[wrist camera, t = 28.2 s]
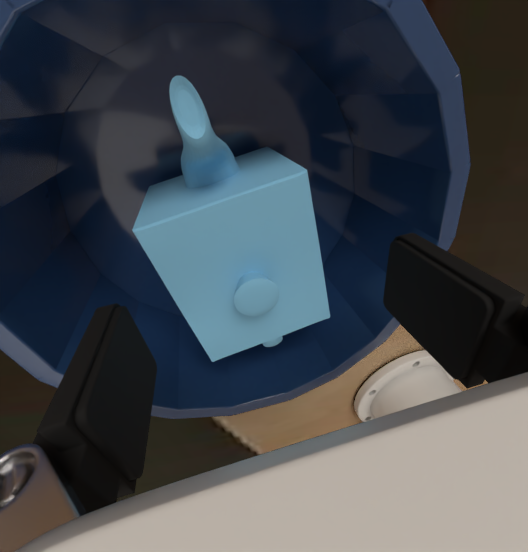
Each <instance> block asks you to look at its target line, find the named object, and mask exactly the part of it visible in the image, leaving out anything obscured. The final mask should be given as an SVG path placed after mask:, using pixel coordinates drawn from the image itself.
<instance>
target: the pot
mask: <svg viewBox="0 0 528 552" xmlns="http://www.w3.org/2000/svg"><path fill="white" fill-rule="evenodd" d="M459 72H460V69H459V67H458V65H457V63H456V62H455V60H454V58H453V56H452V54H451V53H450V51H449V49H448V47H447V45H446V43H445V42H444V40H443V38H442V36H441V34H440V32H439V31H438V29H437V27H436V25H435V23H434V21H433V20H432V18H431V16H430V14H429V12H428V10H427V9H426V7H425V5H424V3H423V1H422V0H0V350H1V351H3V352H4V353H5V354H6V355H8V356H9V357H10V358H11V359H12V360H14V361H15V362H16V363H17V364H19V365H20V366H21V367H22V368H23V369H25V370H26V371H27V372H28V373H30V374H31V375H32V376H33V377H35V378H36V379H38V380H39V381H41V382H44V383H46V384H48V385H51V386H53V387H56V388H58V386H59V384H60V382H61V380H62V378H63V376H64V374H65V372H66V370H67V368H68V366H69V364H70V362H71V360H72V358H73V356H74V354H75V352H76V349H77V347H78V345H79V343H80V341H81V339H82V337H83V335H84V333H85V331H86V329H87V327H88V325H89V323H90V321H91V319H92V317H93V315H94V312H95V310H96V309H97V308H99V307H102V306H107V305H111V304H115V303H117V304H119V305H120V306H125V307H127V309H128V311H129V312H130V314H131V316H132V318H133V320H134V322H135V324H136V325H137V327H138V329H139V331H140V333H141V335H142V337H143V338H144V340H145V342H146V344H147V346H148V348H149V350H150V351H151V353H152V355H153V357H154V359H155V361H156V364H157V374H156V381H155V389H154V396H153V403H152V410H151V416H156V417H162V418H169V419H173V418H174V419H183V418H199V417H216V416H232V415H233V414H234V415H236V414H240V413H244V412H247V411H251V410H255V409H259V408H263V407H266V406H270V405H274V404H278V403H282V402H285V401H288V400H292V399H294V398H296V397H298V396H300V395H302V394H304V393H306V392H308V391H310V390H312V389H314V388H316V387H318V386H321V385H323V384H325V383H327V382H329V381H331V380H333V379H335V378H337V377H338V376H340V375H341V374H343V373H344V372H345V371H347V370H348V369H349V368H351V367H352V366H353V365H355V364H356V363H357V362H359V361H360V360H361V359H363V358H364V357H365V356H367V355H368V354H369V353H371V352H372V351H373V350H375V349H376V348H377V347H379V346H380V345H381V344H383V342H385V341H386V340H387V339H388V338H389V337H390V335H391V334H392V333H393V332H394V331H395V330H396V329H397V327H398V326H399V325H400V323H399V322H398V321H397V320H396V319H395V318H394V317H393V316H392V315H391V314H390V312H389V311H388V310H387V309H386V308H385V306H384V303H383V296H384V288H385V280H386V272H387V264H388V256H389V248H390V244H391V242H392V241H393V240H394V238H395V237H397V236H400V235H404V234H408V233H415V234H417V235H419V236H420V237H422V238H424V239H426V240H428V241H429V242H431V243H433V244H435V245H437V246H438V247H440V248H442V249H444V250H445V251H448V250H449V248H450V246H451V244H452V242H453V240H454V238H455V235H456V231H457V226H458V221H459V217H460V212H461V208H462V203H463V198H464V194H465V189H466V185H467V180H468V175H469V171H470V166H471V163H470V152H469V143H468V134H467V125H466V116H465V107H464V98H463V90H462V81H461V74H460V73H459ZM175 76H183V77H185V78H186V79H187V80H188V81H189V82H190V83H191V84H192V85H193V86H194V88H195V89H196V91H197V92H198V94H199V96H200V98H201V100H202V102H203V104H204V107H205V109H206V112H207V115H208V118H209V121H210V124H211V127H212V129H213V131H214V133H215V135H216V136H217V137H218V138H220V139H221V140H222V141H224V142H225V143H226V144H227V146H228V147H229V148H230V150H231V151H232V153H233V155H234V157H237V156H240V155H243V154H246V153H249V152H252V151H255V150H258V149H261V148H264V147H269V148H271V149H272V150H274V151H276V152H278V153H279V154H281V155H283V156H284V157H286V158H288V159H290V160H291V161H293V162H295V163H296V164H298V165H300V166H302V167H303V168H305V169H307V172H308V178H309V185H310V191H311V197H312V204H313V210H314V216H315V222H316V228H317V234H318V240H319V246H320V252H321V259H322V265H323V272H324V278H325V285H326V292H327V298H328V305H329V311H330V318H328V319H325V320H322V321H319V322H317V323H314V324H311V325H309V326H306V327H304V328H301V329H299V330H296V331H293V332H291V333H288V334H286V335H283V336H282V338H283V339H282V341H281V342H280V343H279V344H277V345H275V346H272V347H265V346H263V344H259V345H256V346H254V347H251V348H248V349H246V350H243V351H240V352H237V353H235V354H232V355H229V356H227V357H224V358H221V359H219V360H217V361H214V362H212V361H211V359H210V358H209V356H208V354H207V353H206V351H205V350H204V348H203V346H202V345H201V343H200V341H199V340H198V338H197V337H196V335H195V333H194V332H193V330H192V328H191V327H190V325H189V324H188V322H187V320H186V319H185V317H184V315H183V314H182V312H181V311H180V309H179V307H178V306H177V304H176V302H175V301H174V299H173V297H172V296H171V294H170V292H169V291H168V289H167V287H166V286H165V284H164V282H163V281H162V279H161V277H160V276H159V274H158V272H157V271H156V269H155V267H154V266H153V264H152V262H151V261H150V259H149V257H148V256H147V254H146V252H145V251H144V249H143V247H142V246H141V244H140V242H139V241H138V239H137V238H136V236H135V234H134V233H133V231H132V229H133V227H134V224H135V221H136V219H137V216H138V214H139V211H140V209H141V206H142V203H143V201H144V198H145V196H146V193H147V191H148V188H149V186H151V185H154V184H157V183H160V182H163V181H166V180H169V179H172V178H175V177H178V176H181V175H183V173H182V168H181V155H182V151H183V140H182V137H181V134H180V132H179V129H178V126H177V124H176V121H175V118H174V115H173V112H172V107H171V103H170V94H169V89H170V83H171V80H172V78H174V77H175Z"/></svg>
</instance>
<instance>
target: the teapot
mask: <svg viewBox="0 0 528 552" xmlns="http://www.w3.org/2000/svg"><path fill="white" fill-rule="evenodd" d="M169 94H170V103H171V107H172V112H173V115H174V118H175V121H176V124H177V126H178V129H179V132H180V134H181V137H182V140H183V151H182V155H181V168H182V173H183V175H181V176H178V177H175V178H172V179H169V180H166V181H163V182H160V183H157V184H154V185H151V186H149V188H148V191H147V193H146V196H145V198H144V201H143V203H142V206H141V209H140V211H139V214H138V216H137V219H136V221H135V224H134V227H133V229H132V231H133V233H134V234H135V236H136V238H137V239H138V241H139V242H140V244H141V246H142V247H143V249H144V251H145V252H146V254H147V256H148V257H149V259H150V261H151V262H152V264H153V266H154V267H155V269H156V271H157V272H158V274H159V276H160V277H161V279H162V281H163V282H164V284H165V286H166V287H167V289H168V291H169V292H170V294H171V296H172V297H173V299H174V301H175V302H176V304H177V306H178V307H179V309H180V311H181V312H182V314H183V315H184V317H185V319H186V320H187V322H188V324H189V325H190V327H191V328H192V330H193V332H194V333H195V335H196V337H197V338H198V340H199V341H200V343H201V345H202V346H203V348H204V350H205V351H206V353H207V354H208V356H209V358H210V359H211V361H212V362H214V361H217V360H219V359H221V358H224V357H227V356H229V355H232V354H235V353H237V352H240V351H243V350H246V349H248V348H251V347H254V346H256V345H259V344H263V346H265V347H272V346H275V345H277V344H279V343H280V342H281V341H282V339H283V338H282V336H283V335H286V334H288V333H291V332H293V331H296V330H299V329H301V328H304V327H306V326H309V325H311V324H314V323H317V322H319V321H322V320H325V319H328V318H330V311H329V305H328V298H327V292H326V285H325V278H324V272H323V265H322V259H321V252H320V246H319V240H318V234H317V228H316V222H315V216H314V210H313V204H312V197H311V191H310V185H309V178H308V172H307V169H305V168H303V167H302V166H300V165H298V164H296V163H295V162H293V161H291V160H290V159H288V158H286V157H284V156H283V155H281V154H279V153H278V152H276V151H274V150H272V149H271V148H269V147H264V148H261V149H258V150H255V151H252V152H249V153H246V154H243V155H240V156H237V157H234V155H233V153H232V151H231V150H230V148H229V147H228V146H227V144H226V143H225V142H224V141H222V140H221V139H220V138H218V137H217V136H216V135H215V133H214V131H213V129H212V127H211V124H210V121H209V118H208V115H207V112H206V109H205V107H204V104H203V102H202V100H201V98H200V96H199V94H198V92H197V91H196V89H195V88H194V86H193V85H192V84H191V83H190V82H189V81H188V80H187V79H186V78H185V77H183V76H175V77H174V78H172V80H171V83H170V89H169Z"/></svg>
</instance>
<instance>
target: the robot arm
mask: <svg viewBox="0 0 528 552" xmlns="http://www.w3.org/2000/svg"><path fill="white" fill-rule="evenodd" d="M524 296H525V295H524V294H522V293H520V292H519V291H517V290H515V289H513V288H511V287H510V286H508V285H506V284H504V283H503V282H501V281H499V280H497V279H495V278H494V277H492V276H490V275H488V274H487V273H485V272H483V271H481V270H479V269H478V268H476V267H474V266H472V265H470V264H469V263H467V262H465V261H463V260H462V259H460V258H458V257H456V256H454V255H453V254H451V253H449V252H447V251H445V250H444V249H442V248H440V247H438V246H437V245H435V244H433V243H431V242H429V241H428V240H426V239H424V238H422V237H420V236H419V235H417V234H415V233H408V234H404V235H400V236H397V237H395V238H394V240H393V241H392V242H391V244H390V248H389V256H388V264H387V272H386V280H385V288H384V296H383V303H384V306H385V308H386V309H387V310H388V311H389V312H390V314H391V315H392V316H393V317H394V318H395V319H396V320H397V321H398V322H399V323H400V324H401V325H402V326H403V327H404V328H405V329H406V330H407V331H408V332H409V333H410V334H411V335H412V336H413V337H414V338H415V339H416V340H417V341H418V343H419V344H420V345H421V346H422V347H423V348H424V349H425V350H422V351H416V352H413V353H409V354H407V355H404V356H402V357H399V358H397V359H395V360H393V361H391V362H390V363H388V364H386V365H385V366H383V367H382V368H380V369H379V370H378V371H376V372H375V373H374V374H373V375H371V376H370V377H369V378H368V379H367V381H366V382H365V383H364V384H363V385H362V387H361V388H360V389H359V391H358V393H357V395H356V397H355V401H354V409H355V411H356V413H357V415H358V417H359V418H360V419H361V421H363V422H362V423H359V424H356V425H353V426H350V427H346V428H343V429H340V430H337V431H334V432H331V433H327V434H324V435H321V436H318V437H315V438H312V439H308V440H305V441H302V442H299V443H296V444H292V445H289V446H286V447H283V448H280V449H277V450H274V451H271V452H267V453H264V454H261V455H258V456H255V457H252V458H249V459H246V460H242V461H239V462H236V463H233V464H230V465H227V466H224V467H221V468H217V469H214V470H211V471H208V472H205V473H202V474H199V475H196V476H192V477H189V478H186V479H183V480H180V481H177V482H174V483H172V484H169V485H166V486H163V487H160V488H157V489H154V490H151V491H148V492H145V493H142V494H139V495H136V496H133V497H130V498H127V499H124V500H121V501H118V502H116V500H117V498H119V497H122V496H125V495H128V494H132V493H134V492H135V486H136V479H137V478H140V477H141V475H142V473H143V468H144V461H145V453H146V446H147V439H148V432H149V425H150V417H151V410H152V403H153V396H154V389H155V381H156V374H157V364H156V361H155V359H154V357H153V355H152V353H151V351H150V350H149V348H148V346H147V344H146V342H145V340H144V338H143V337H142V335H141V333H140V331H139V329H138V327H137V325H136V324H135V322H134V320H133V318H132V316H131V314H130V312H129V311H128V309H127V307H125V306H120V305H119V304H117V303H115V304H111V305H107V306H102V307H99V308H97V309H96V310H95V312H94V315H93V317H92V319H91V321H90V323H89V325H88V327H87V329H86V331H85V333H84V335H83V337H82V339H81V341H80V343H79V345H78V347H77V349H76V352H75V354H74V356H73V358H72V360H71V362H70V364H69V366H68V368H67V370H66V372H65V374H64V376H63V378H62V380H61V382H60V384H59V386H58V389H57V391H56V393H55V395H54V397H53V399H52V401H51V403H50V405H49V407H48V409H47V411H46V413H45V415H44V417H43V419H42V421H41V424H40V426H39V428H38V430H37V432H38V433H37V435H36V437H35V439H34V442H33V444H30V443H29V444H24V445H20V446H17V447H15V448H13V449H11V450H8V451H7V452H5V453H4V454H2V455H1V456H0V552H528V306H527V308H526V307H524V306H523V305H521V302H522V300H523V298H524ZM453 379H458V380H459V381H460V382H461V383H462V384H463V385H464V386H465V387H466V388H470V387H473V386H476V385H479V384H483V382H484V380H486V381H487V382H488V384H485V385H482V386H479V387H475V388H472V389H469V390H466V391H462V390H461V389H460V388H459V387H458V386H457V385H456V384H455V383H454V382H453Z"/></svg>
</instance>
